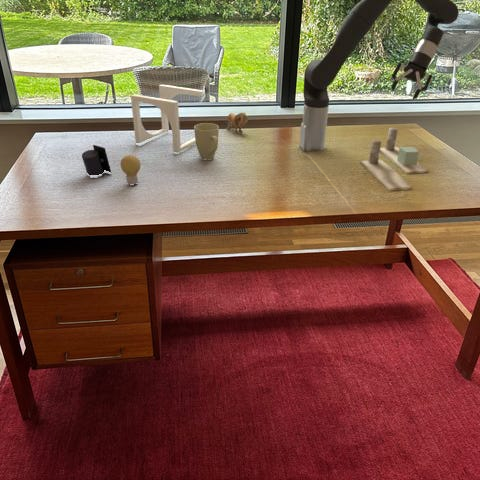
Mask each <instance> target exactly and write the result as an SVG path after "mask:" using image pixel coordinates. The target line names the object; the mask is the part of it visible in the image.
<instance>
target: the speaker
mask: <svg viewBox="0 0 480 480" xmlns="http://www.w3.org/2000/svg"><path fill="white" fill-rule="evenodd" d="M81 158H82V162H83V164H84V167H85V171H86V174H87V173H88V174H89V175H99V174H102V173H103V172H104V170H106V171H109V172H111V173H112V170H111V166H110V161H109V159H108V155H107V151H106V148H105V147H103V146H101V145H100V146H99V145H95V144H93V145H92V149H89V150H85V151H84V152H82V153H81Z"/></svg>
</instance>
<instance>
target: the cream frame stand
mask: <svg viewBox="0 0 480 480" xmlns="http://www.w3.org/2000/svg"><path fill="white" fill-rule="evenodd" d="M158 92H159V97H153V96H148V95H141V94H131V95H130V100H131V103H130V104H131V111H132V120H133V122H132V123H133V129H134V130H133V131H134V139H135V141H134V142H135V144H136V143H141V142H143V141H145V140H147V139H150V138H152V137H154V136H157V135H159V134H162V133H165V132H168V131H169V132H170V130H169V129H170V128H171V132H172V133H171V135H172V136H171V137H172V150H173V152H177V153H178V152H180V151H182V150H184V149H186V148H188V147H190V146H192V145H194V144H196V140H195V137H193V138H192V139H190V140H188V141H185V142H184V143H182V144H181V132H180V115H179V113H180V112H179V101H178V100H173V98H174V97H175V96H177V95H186V96H193V97H198V98H199V97H200V98H202V97H204V95H205V94H204V92H205V90H201V89H197V88H196V89H195V88H190V87H189V88H188V87H181V86H175V85H168V84H159V85H158ZM140 103H143V104H149V105H152V106H154V107H156V108H158V109H159V110H160V118H161V119H160V120H161V129H159V130H156V131H154V132H152V133H149V132H148V131H147V130H146V129H145V127H144V125H143V123H142V118H141V108H140ZM169 125H170V127H169ZM194 146H195V145H194Z"/></svg>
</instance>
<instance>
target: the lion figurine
mask: <svg viewBox="0 0 480 480" xmlns="http://www.w3.org/2000/svg"><path fill="white" fill-rule="evenodd" d="M249 120H250V116H247V115H246V112H243V111H242V112H239V113H238V114H235V113H233V112H231V113H229V114H228V115H227V123H225V124H224V125H225V126H227V130H228V131H229V130H231V128H233V126H234V133H235V135H236V134H239V133H243V130H242V127H243V126H244V125H246V123H247V122H248V121H249ZM238 127H239V128H238Z"/></svg>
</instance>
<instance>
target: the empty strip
mask: <svg viewBox="0 0 480 480" xmlns="http://www.w3.org/2000/svg"><path fill="white" fill-rule="evenodd" d="M370 147H371V148H370V154H369V160H360V164H361V165H362V166H363V167H364V168H365V169H366V170H367V171H368V172H369V173H371V175H372V176H374V178H375V179H376V180H378V181H379V182H380V183H381V184H382V185H383V186H384V187H385V188H386V189H387V190H388V191H392V192H393V191H402V190H403V191H404V190H405V191H406V190H412V189H413V185H411V184H410V183H409V182H408V181H406V179H404V178H403V177H402V176H401V175H399V173H397V172H396V171H395V170H394V169H393V168H392V167H391V166H389V164H387V163H386V162H385V161H383V160H382V159H380V153H381V152H380V148H382V140H380V139H372V141H371V146H370Z"/></svg>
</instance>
